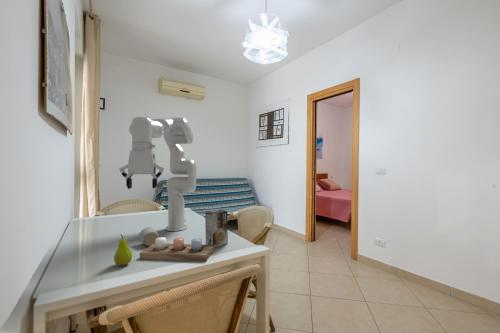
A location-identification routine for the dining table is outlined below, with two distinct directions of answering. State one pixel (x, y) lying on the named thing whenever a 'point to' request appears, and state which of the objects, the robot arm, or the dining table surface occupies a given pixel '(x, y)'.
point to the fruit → (122, 253)
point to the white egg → (160, 243)
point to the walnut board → (177, 253)
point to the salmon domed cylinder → (178, 243)
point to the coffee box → (216, 227)
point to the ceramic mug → (148, 236)
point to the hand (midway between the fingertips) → (142, 188)
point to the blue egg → (196, 244)
